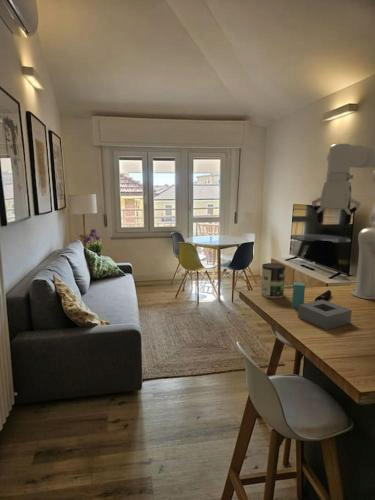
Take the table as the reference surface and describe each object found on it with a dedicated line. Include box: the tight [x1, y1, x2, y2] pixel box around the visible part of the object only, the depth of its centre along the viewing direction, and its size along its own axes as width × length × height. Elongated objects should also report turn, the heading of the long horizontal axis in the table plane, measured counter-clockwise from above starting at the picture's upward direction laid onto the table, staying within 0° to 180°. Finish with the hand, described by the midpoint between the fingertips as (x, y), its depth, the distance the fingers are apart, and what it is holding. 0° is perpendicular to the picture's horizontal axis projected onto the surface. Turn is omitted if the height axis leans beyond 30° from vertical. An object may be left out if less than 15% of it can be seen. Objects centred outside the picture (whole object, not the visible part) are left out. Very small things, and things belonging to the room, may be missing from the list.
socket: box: [297, 300, 353, 331], centre depth 120 cm, size 13×13×5 cm
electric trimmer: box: [314, 289, 332, 301], centre depth 143 cm, size 4×16×3 cm, turn 140°
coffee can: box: [260, 262, 286, 299], centre depth 149 cm, size 10×10×14 cm
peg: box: [291, 281, 306, 309], centre depth 134 cm, size 4×4×10 cm
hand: (333, 224), depth 123 cm, fingers open, 9 cm apart
